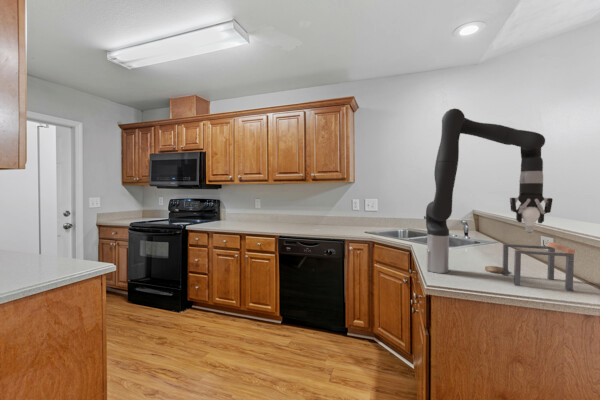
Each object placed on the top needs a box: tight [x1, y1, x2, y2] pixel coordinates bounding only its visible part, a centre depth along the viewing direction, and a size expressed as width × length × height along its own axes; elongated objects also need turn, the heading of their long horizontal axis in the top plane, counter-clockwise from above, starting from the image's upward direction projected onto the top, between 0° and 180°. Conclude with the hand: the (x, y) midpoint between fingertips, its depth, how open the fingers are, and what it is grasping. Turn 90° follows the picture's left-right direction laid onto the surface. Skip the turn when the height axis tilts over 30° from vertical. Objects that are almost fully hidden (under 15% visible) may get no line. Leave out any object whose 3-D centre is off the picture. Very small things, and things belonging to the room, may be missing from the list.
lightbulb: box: [521, 207, 540, 234], centre depth 116 cm, size 6×6×11 cm
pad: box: [484, 265, 503, 275], centre depth 132 cm, size 9×9×1 cm
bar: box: [547, 241, 576, 255], centre depth 113 cm, size 2×16×2 cm, turn 159°
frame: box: [501, 243, 575, 292], centre depth 116 cm, size 18×16×14 cm
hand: (529, 222), depth 116 cm, fingers closed on lightbulb, 6 cm apart
